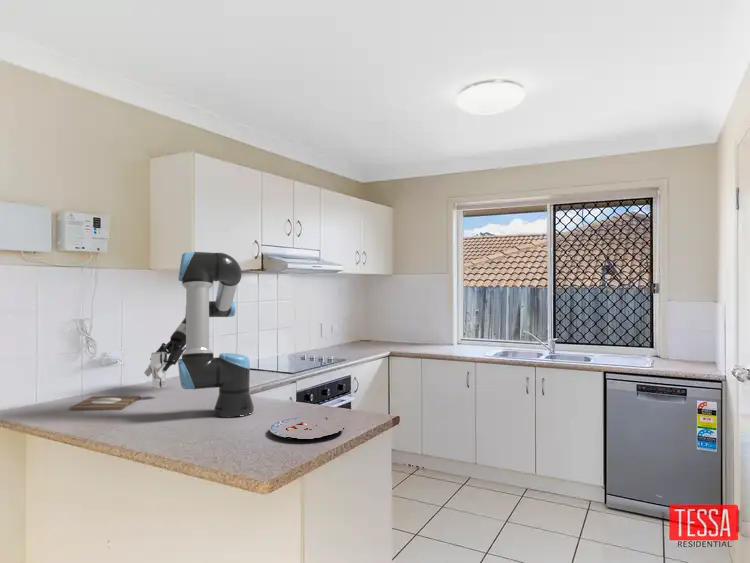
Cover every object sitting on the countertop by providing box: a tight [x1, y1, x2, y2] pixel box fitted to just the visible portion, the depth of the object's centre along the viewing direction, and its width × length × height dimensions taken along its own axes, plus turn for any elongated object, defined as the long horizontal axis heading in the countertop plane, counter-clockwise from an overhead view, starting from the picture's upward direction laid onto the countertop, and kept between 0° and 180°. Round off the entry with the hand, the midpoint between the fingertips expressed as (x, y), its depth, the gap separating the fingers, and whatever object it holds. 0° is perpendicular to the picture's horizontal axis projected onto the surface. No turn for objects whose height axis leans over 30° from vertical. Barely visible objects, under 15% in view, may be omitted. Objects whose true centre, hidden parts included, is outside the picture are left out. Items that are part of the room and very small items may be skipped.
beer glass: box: [150, 351, 168, 389], centre depth 225 cm, size 7×7×15 cm
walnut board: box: [68, 395, 141, 411], centre depth 212 cm, size 20×20×2 cm
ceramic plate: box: [269, 416, 317, 438], centre depth 174 cm, size 26×26×3 cm
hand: (152, 375), depth 221 cm, fingers closed on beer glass, 7 cm apart
